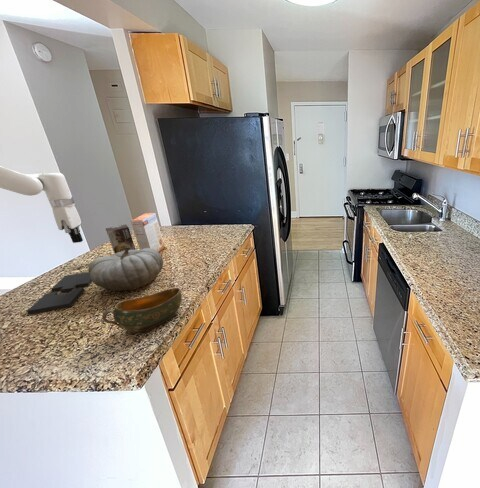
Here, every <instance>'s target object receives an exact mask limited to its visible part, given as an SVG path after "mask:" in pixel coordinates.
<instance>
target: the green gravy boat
mask: <svg viewBox="0 0 480 488" xmlns="http://www.w3.org/2000/svg"><path fill="white" fill-rule="evenodd" d="M181 304H182V291H181V289H180V288H179V287H174V288H168V289H165V290H161V291H159V292H155V293H153V294H149V295H144V296H140V297H134V298H129V299H125V300H121V301H118V302H117V303H116V304H115V305H114V308H113V309H107V310H104V311H103V312H102V315H101V319H102V321H103V322H105V323H107V324H111V325H114V326H117V327H119V328H120V329H121V330H126V331H128V332H130V333H132V334H140V333H143V332H146V331H149V330H151V329H153V328H156V327H159V326H160V325H162V324H164V323H166V322H168V321H169V320H171V319H173V317H175V316H176V314H178V310H179V309H180V306H181ZM110 313H112V314H113V321H112V320H108V319H107V316H108V314H110Z"/></svg>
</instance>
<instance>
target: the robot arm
mask: <svg viewBox="0 0 480 488" xmlns="http://www.w3.org/2000/svg"><path fill="white" fill-rule="evenodd" d="M0 189H3V190H7V191H10V192H13V193H17V194H20V195H23V196H37V195H39V194H40V193H42V192H43V191H44V192H45V195H46V198H47V200H48V202H49V205H50V207H51V208H52V214H53V218H54V220H55V224H56V226H57V229H58V230H59V231H63V230H64V233H65V234H68V235H69V237H70V239H71V242H72V243H73V244H77V243H82V242H83V241H84V239H83V237H82V234H81V231H80V230H81V229H80V225H81V224H82V219H81V217H80V214H79V212H78V209H77V207H76V206H75V205H76V203H75V200H74V197H73V195H72V192H71V190H70V187H69V185H68V182H67V179H66V176H65V175H64V174H63V173H62V172H45V173H38V174H37V173H22V172H19V171H16V170H13V169H11V168H7V167H4V166H2V165H0Z"/></svg>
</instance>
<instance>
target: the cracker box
mask: <svg viewBox="0 0 480 488" xmlns="http://www.w3.org/2000/svg"><path fill="white" fill-rule="evenodd" d="M130 223H131V227H132V230H133V233H134V237H135V240H136V243H137V245H138V250H141V249H145V248H151V249H155V250H156V251H158V252H159V253H160V252H161V251H162V250H163V249H165V247H166V246H165V242H164V239H163V235H162V231H161V228H160V225H159V221H158V217H157V214H156V212H146V213H143V214H141V215H140V216H137V217H135V218H134V219H131V220H130Z"/></svg>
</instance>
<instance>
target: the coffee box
mask: <svg viewBox="0 0 480 488" xmlns="http://www.w3.org/2000/svg"><path fill="white" fill-rule="evenodd" d="M105 231H106V234H107V237H108V239H109V242H110V245H111V247H112V251H113V254H115V253H118V252H121V251H125V250H126V247H129V250H137V248H136V246H135V243H134V239H133V236H132V233H131V231H130V228H129V226H128V225H127V224H121V225H116V226H111V227H106V228H105Z"/></svg>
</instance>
